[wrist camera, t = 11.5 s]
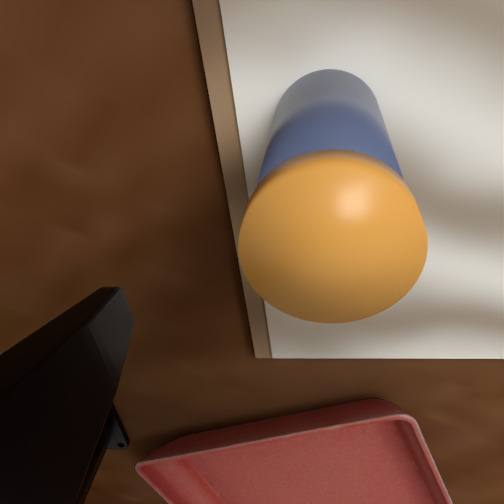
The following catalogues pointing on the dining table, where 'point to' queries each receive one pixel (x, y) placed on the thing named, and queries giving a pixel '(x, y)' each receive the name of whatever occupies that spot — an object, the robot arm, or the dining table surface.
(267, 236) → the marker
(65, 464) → the robot arm
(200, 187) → the dining table surface
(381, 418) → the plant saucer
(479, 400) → the dining table surface
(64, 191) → the dining table surface
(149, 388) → the dining table surface
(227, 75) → the clipboard
